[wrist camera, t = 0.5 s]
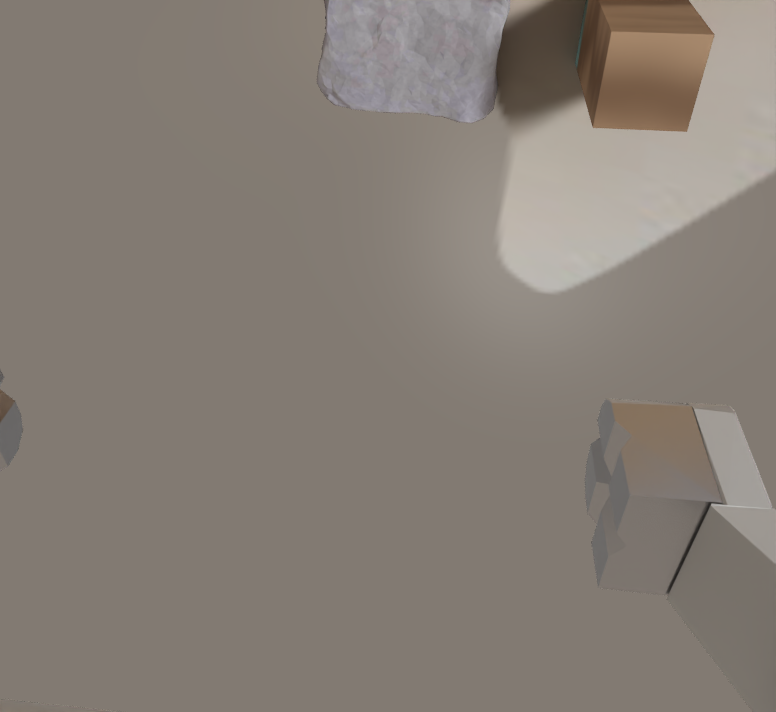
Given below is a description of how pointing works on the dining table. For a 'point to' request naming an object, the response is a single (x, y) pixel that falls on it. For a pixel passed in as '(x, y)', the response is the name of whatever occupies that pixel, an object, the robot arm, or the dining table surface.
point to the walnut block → (642, 62)
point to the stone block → (413, 56)
